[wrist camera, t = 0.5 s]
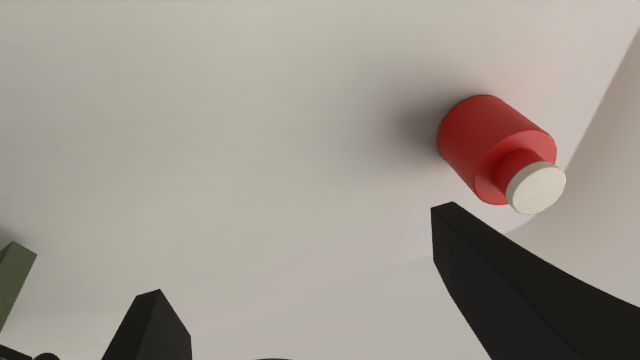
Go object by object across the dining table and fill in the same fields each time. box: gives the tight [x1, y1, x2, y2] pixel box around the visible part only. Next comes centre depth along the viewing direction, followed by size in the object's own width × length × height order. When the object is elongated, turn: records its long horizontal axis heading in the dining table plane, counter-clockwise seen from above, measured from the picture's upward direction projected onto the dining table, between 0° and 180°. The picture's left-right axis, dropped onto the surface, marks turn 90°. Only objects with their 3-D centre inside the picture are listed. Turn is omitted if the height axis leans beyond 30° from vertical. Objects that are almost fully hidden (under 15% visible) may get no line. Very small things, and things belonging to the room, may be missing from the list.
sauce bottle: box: [437, 95, 566, 214], centre depth 20 cm, size 4×4×6 cm
